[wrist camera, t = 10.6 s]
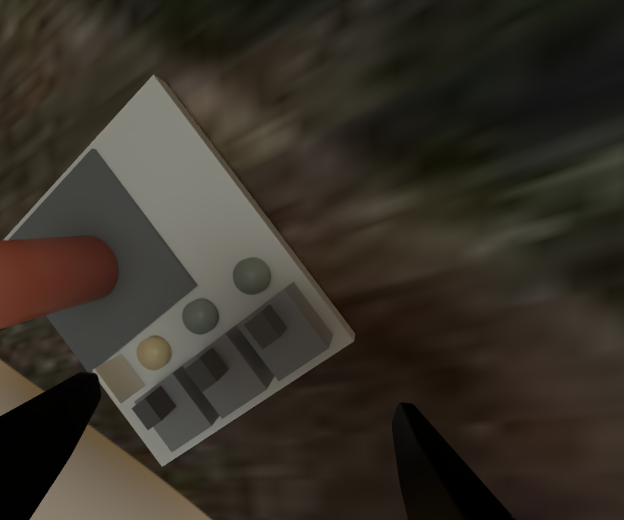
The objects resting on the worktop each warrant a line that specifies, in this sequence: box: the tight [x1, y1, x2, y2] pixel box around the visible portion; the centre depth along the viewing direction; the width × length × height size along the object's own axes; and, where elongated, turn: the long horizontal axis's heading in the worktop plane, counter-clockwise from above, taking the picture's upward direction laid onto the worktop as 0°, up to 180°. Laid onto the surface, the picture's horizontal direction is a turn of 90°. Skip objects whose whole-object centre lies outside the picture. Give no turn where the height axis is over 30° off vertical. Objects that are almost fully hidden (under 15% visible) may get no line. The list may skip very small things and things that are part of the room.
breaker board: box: [4, 75, 355, 467], centre depth 19 cm, size 20×17×5 cm
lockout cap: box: [0, 235, 119, 329], centre depth 16 cm, size 4×4×10 cm
